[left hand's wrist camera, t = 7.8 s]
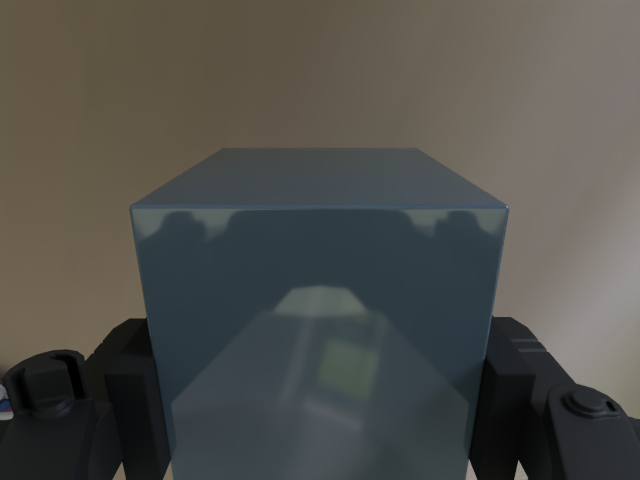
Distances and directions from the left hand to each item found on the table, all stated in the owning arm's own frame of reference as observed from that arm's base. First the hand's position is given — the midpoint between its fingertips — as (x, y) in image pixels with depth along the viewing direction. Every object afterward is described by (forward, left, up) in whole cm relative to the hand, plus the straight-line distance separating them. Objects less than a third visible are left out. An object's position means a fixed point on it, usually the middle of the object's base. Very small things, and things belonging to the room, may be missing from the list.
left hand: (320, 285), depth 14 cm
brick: (0, 0, -1) cm, 1 cm away
